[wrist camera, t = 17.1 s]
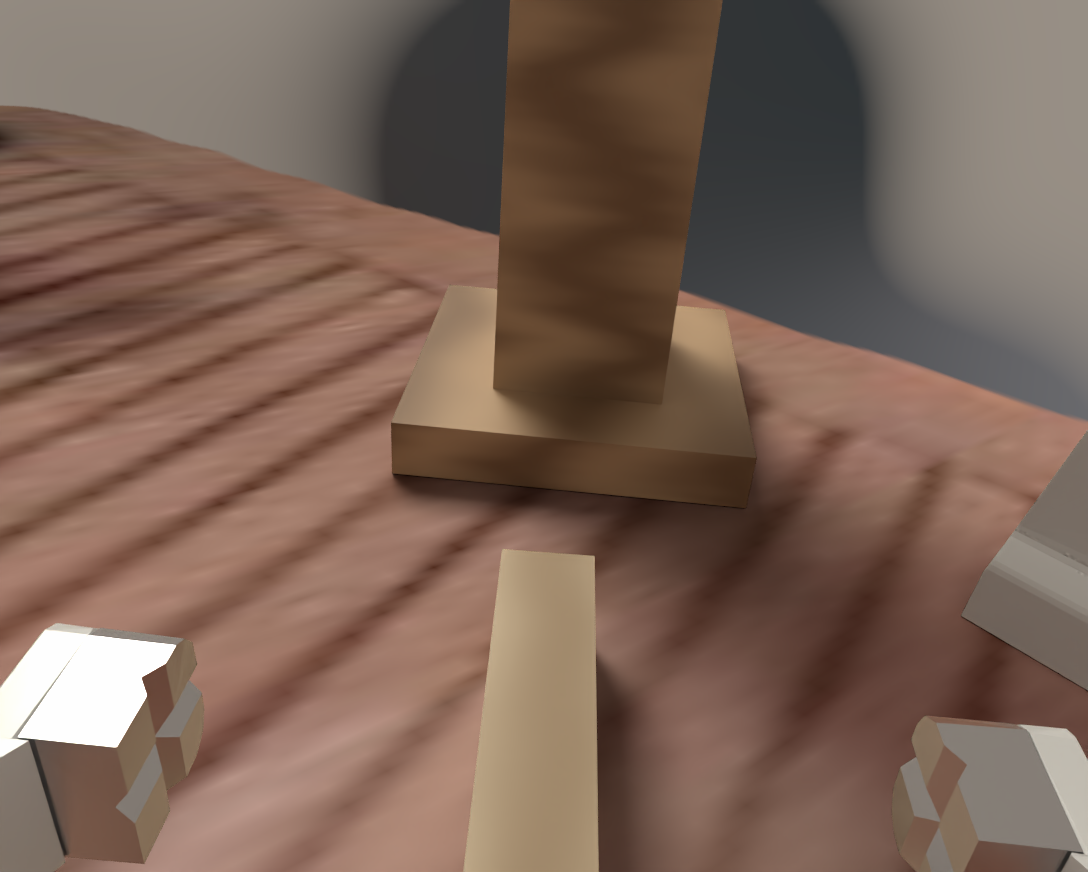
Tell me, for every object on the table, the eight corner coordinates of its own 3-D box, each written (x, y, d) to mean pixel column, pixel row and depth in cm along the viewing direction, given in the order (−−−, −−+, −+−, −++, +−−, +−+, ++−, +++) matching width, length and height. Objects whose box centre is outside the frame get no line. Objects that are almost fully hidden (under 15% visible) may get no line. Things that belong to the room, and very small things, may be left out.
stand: (392, 473, 33) (372, -614, 19) (448, 326, 43) (462, -448, 29) (745, 508, 32) (980, -575, 19) (717, 351, 42) (855, -421, 29)
